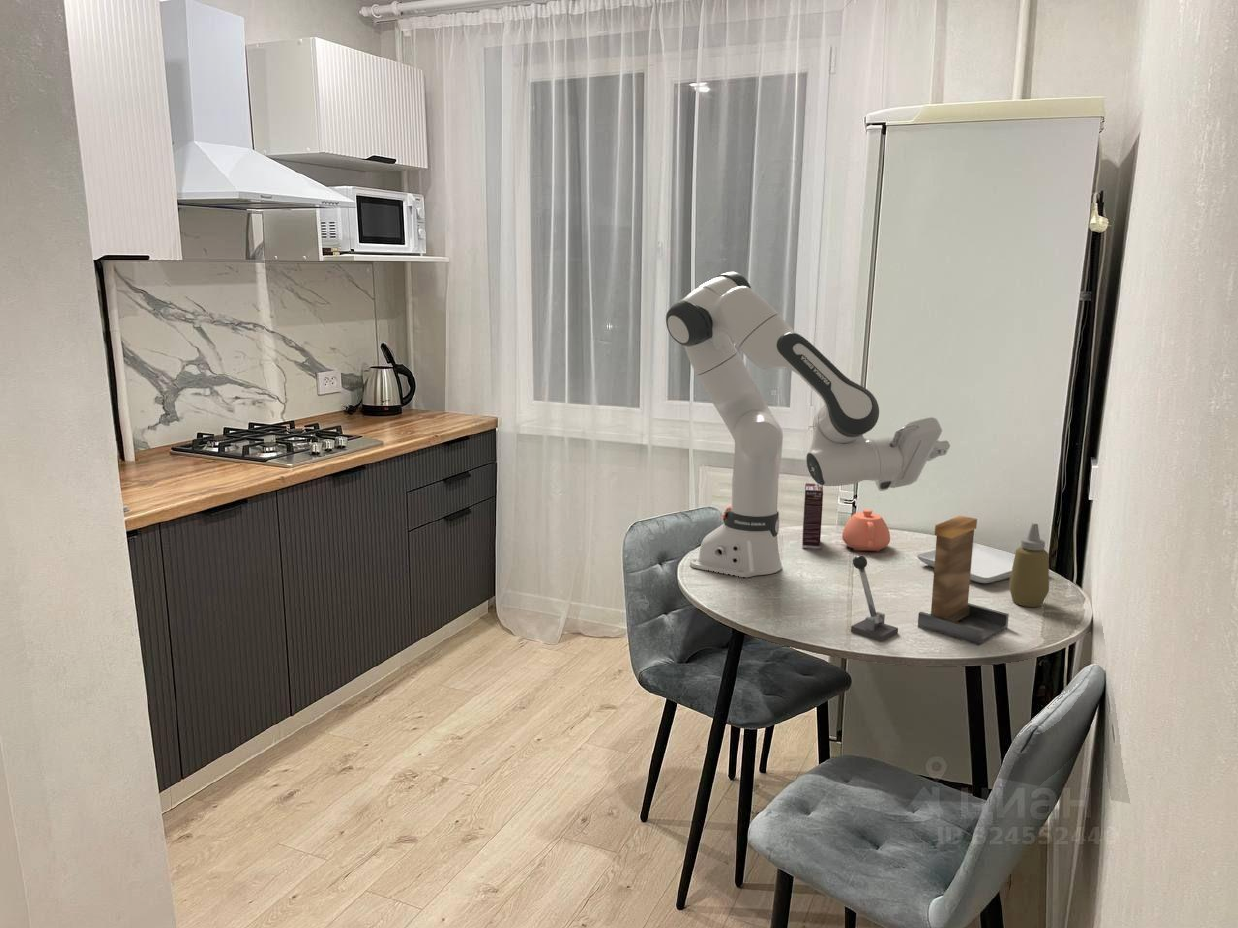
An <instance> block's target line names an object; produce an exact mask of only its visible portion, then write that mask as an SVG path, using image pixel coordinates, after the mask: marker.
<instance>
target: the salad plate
mask: <svg viewBox="0 0 1238 928" xmlns="http://www.w3.org/2000/svg"><path fill="white" fill-rule="evenodd" d="M935 552H936V549H934V550H929V551H923V552H921V553H917V554H916V557H917V558H918V559H919V560H920V561H921V562H922V563H924V564H925V565H927V566H929V567H932V568H934V566H935ZM1014 558H1015V553H1011V552H1008V551H1005V550H1000V549H997V548H995V547H990V546H986V545H983V544H980V543H976V542H973V549H972V561H971V573H970V581H971V582H972V581H973V582H975V583H978V584H990V583H995V582H998V581H1003V580H1006V579H1010V577H1011V572H1012V567H1013V562H1014Z"/></svg>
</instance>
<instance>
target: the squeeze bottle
mask: <svg viewBox="0 0 1238 928" xmlns="http://www.w3.org/2000/svg"><path fill="white" fill-rule="evenodd" d="M1039 530H1040V528H1039V524H1038V523H1031V526H1030V529H1029V531H1028V534H1027V537H1023V538H1022V539H1021V540H1020V541H1021V543H1020V547H1017V548H1016V550H1015V553H1014V554H1015V558H1014V562H1013V567H1012V572H1011V577H1010V578H1009V582H1008V588H1009V592H1010V595H1011V599H1012V600H1011V601H1012V602H1013V603H1014V604H1016V605H1019V606H1022V607H1027V608H1037V607H1038V608H1039V607H1041V606H1042V605H1043V603H1044V601H1045V600H1046V597H1047V595H1048V593H1049V591H1050V578H1049V577H1050V575H1049V574H1050V573H1049V572H1050V566H1049V564H1050V563H1049V557H1050V555H1049V554H1050V553H1049V552H1048V551H1046V550H1045V546H1046V545H1045V544H1046V541H1045V540H1043V539H1041V538H1040V537H1041V536H1040V531H1039Z"/></svg>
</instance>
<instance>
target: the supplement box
mask: <svg viewBox="0 0 1238 928" xmlns="http://www.w3.org/2000/svg"><path fill="white" fill-rule="evenodd" d="M823 497H824V486H823V485H820V484H818V483H809V482H808V483H805V486H804V500H803V501H804V503H803V517H802V519H803V523H802V543H801V545H802V549H807V550H820V549H821V534H822V520H823V501H824V500H823V499H824V498H823Z"/></svg>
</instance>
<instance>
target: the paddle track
mask: <svg viewBox="0 0 1238 928" xmlns="http://www.w3.org/2000/svg"><path fill="white" fill-rule="evenodd" d="M968 607H970V614H969V615H968V616H966V617H964V618H962V619H961V620H959V621H957V622H956V621H952V620H949V619H945V618H942V617H938V616H935V615H931V613H928V612H923V611H919V612H918V618H917V627H918V628H922V629H924V630H928V631H931V632H934V633H937V634H941V635H944V636H948V637H951V638H954V639H957V640H960V641H964V642H968V643H971V644H974V645H978V646H980V645H982V644H984V643H986V642H987V641H989V640H990V639H992V638H993V636H994V637H995V636H997V635H998V634H1000V633H1001V632H1003V631H1005V630H1007V629H1008V626H1009V616H1010V615H1009V614H1010V613H1006V612H1003V611H999V610H995V609H992V608H987V607H985V606H980V605H976V604H972V603H969V602H968Z"/></svg>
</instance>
